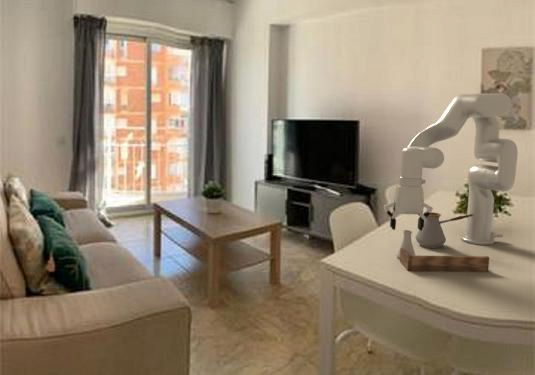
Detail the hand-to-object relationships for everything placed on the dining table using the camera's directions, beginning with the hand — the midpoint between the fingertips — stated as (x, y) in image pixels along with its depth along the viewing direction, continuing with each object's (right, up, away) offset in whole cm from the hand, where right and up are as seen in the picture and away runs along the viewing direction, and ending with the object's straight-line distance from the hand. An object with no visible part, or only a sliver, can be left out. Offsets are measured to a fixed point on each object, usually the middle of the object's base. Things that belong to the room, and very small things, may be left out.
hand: (406, 229), depth 170 cm
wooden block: (+10, -12, -7) cm, 18 cm away
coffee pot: (+18, -9, +14) cm, 25 cm away
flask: (0, -11, +2) cm, 11 cm away
